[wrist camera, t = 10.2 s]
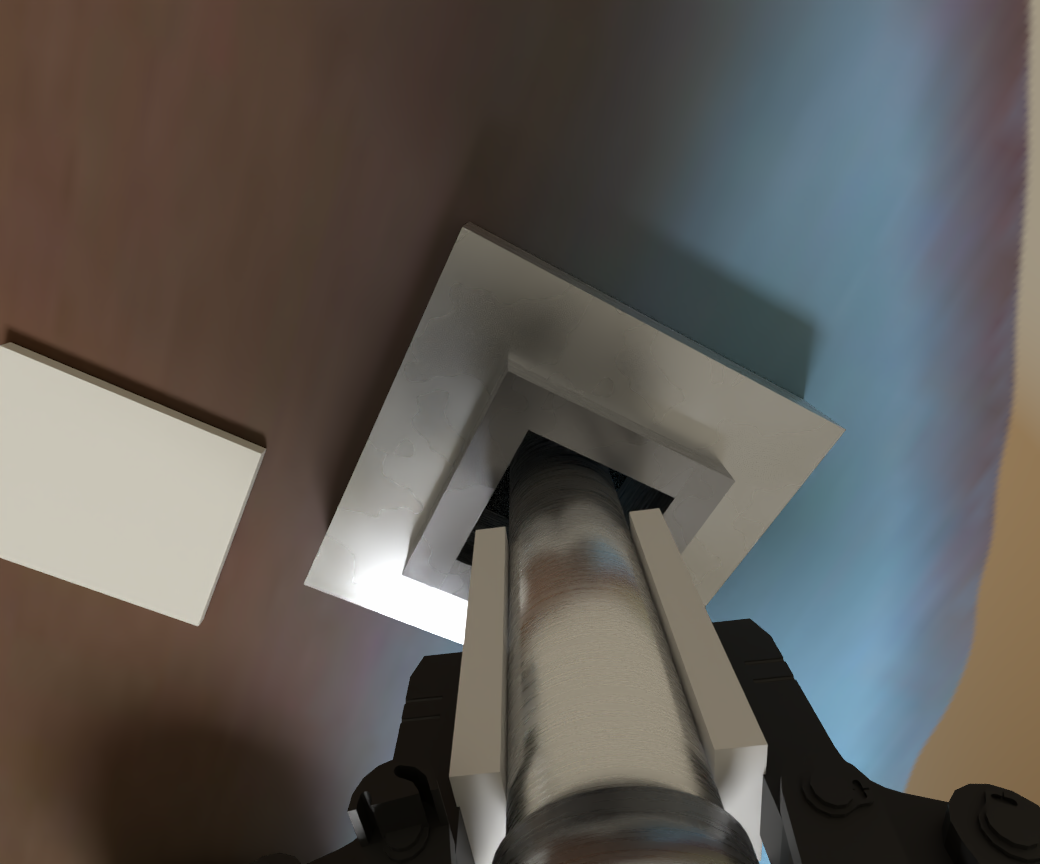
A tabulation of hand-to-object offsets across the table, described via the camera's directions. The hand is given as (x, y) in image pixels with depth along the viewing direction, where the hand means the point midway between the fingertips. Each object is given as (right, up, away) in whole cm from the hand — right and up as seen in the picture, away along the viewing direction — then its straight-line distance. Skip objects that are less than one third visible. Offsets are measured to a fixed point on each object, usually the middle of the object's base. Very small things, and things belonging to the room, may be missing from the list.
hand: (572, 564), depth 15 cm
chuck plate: (0, +2, +5) cm, 5 cm away
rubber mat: (-15, +1, +5) cm, 16 cm away
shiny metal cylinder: (0, +2, +5) cm, 5 cm away
